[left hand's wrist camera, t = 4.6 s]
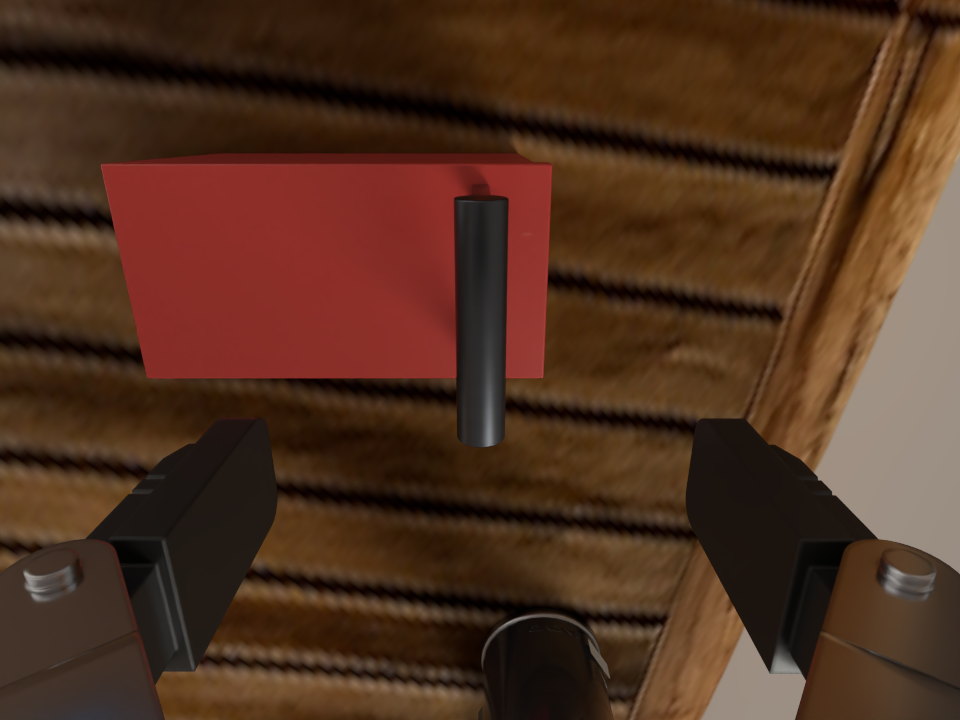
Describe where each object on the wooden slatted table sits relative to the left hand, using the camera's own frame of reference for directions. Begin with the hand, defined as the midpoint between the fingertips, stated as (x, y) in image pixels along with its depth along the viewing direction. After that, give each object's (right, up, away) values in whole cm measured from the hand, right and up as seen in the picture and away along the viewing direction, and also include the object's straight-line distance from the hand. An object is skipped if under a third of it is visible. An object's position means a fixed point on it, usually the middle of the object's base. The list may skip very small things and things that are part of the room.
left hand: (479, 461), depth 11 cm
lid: (-6, +6, +15) cm, 17 cm away
